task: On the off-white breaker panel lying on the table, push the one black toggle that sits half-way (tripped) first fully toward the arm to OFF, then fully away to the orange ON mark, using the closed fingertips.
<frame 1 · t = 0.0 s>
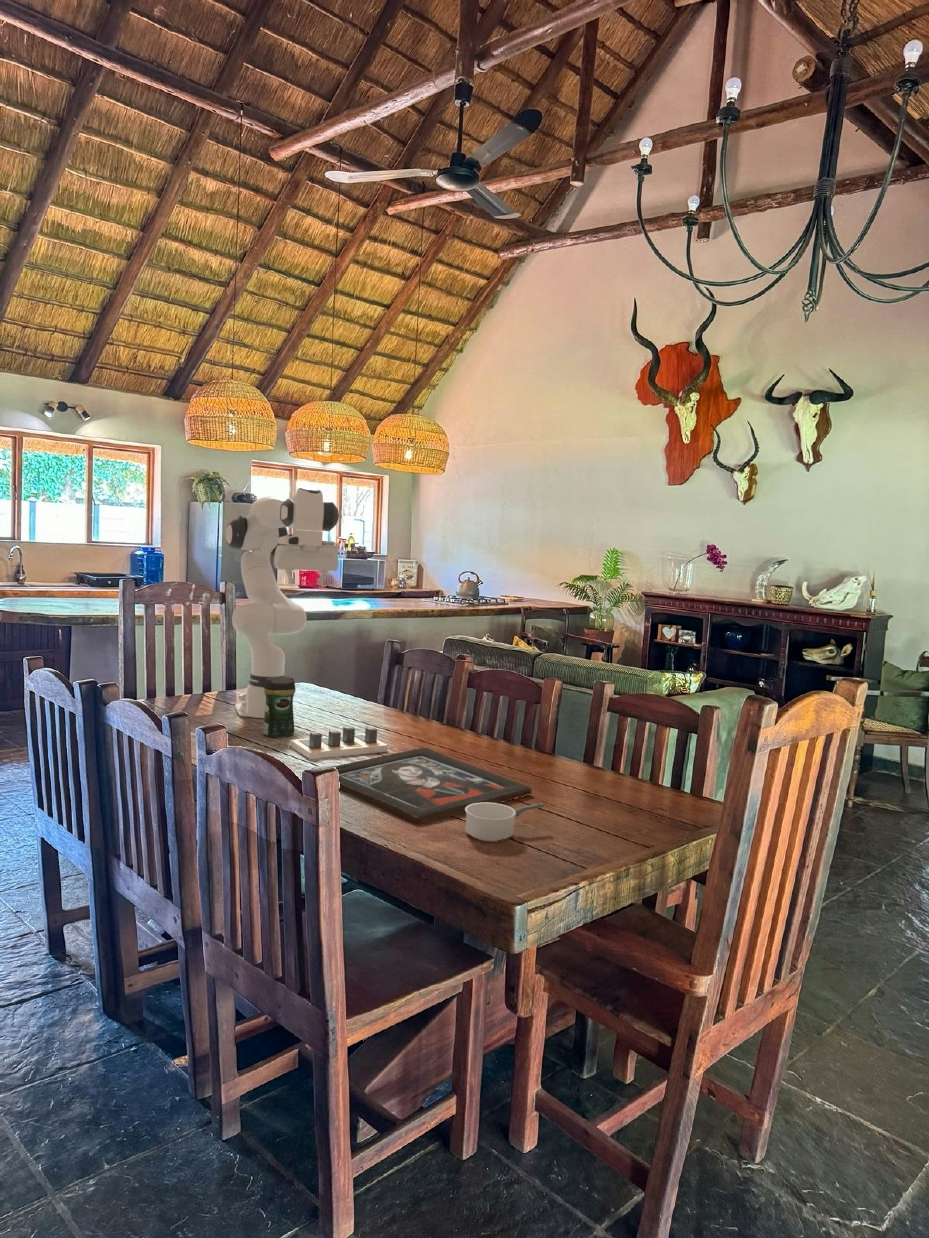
hand: (305, 584, 253), 48 cm above the table, fingers open, 8 cm apart
breaker 1: (315, 739, 236), point 4 cm above the table, slide at 3.0 cm
religious icon: (419, 788, 214), on the table
saucepan: (504, 833, 184), on the table
panel: (338, 748, 244), on the table
breaker 3: (348, 734, 245), point 4 cm above the table, slide at 0.0 cm
breaker 2: (334, 738, 240), point 4 cm above the table, slide at 3.0 cm
breaker 4: (371, 734, 246), point 4 cm above the table, slide at 3.0 cm
coffee jar: (277, 735, 256), on the table
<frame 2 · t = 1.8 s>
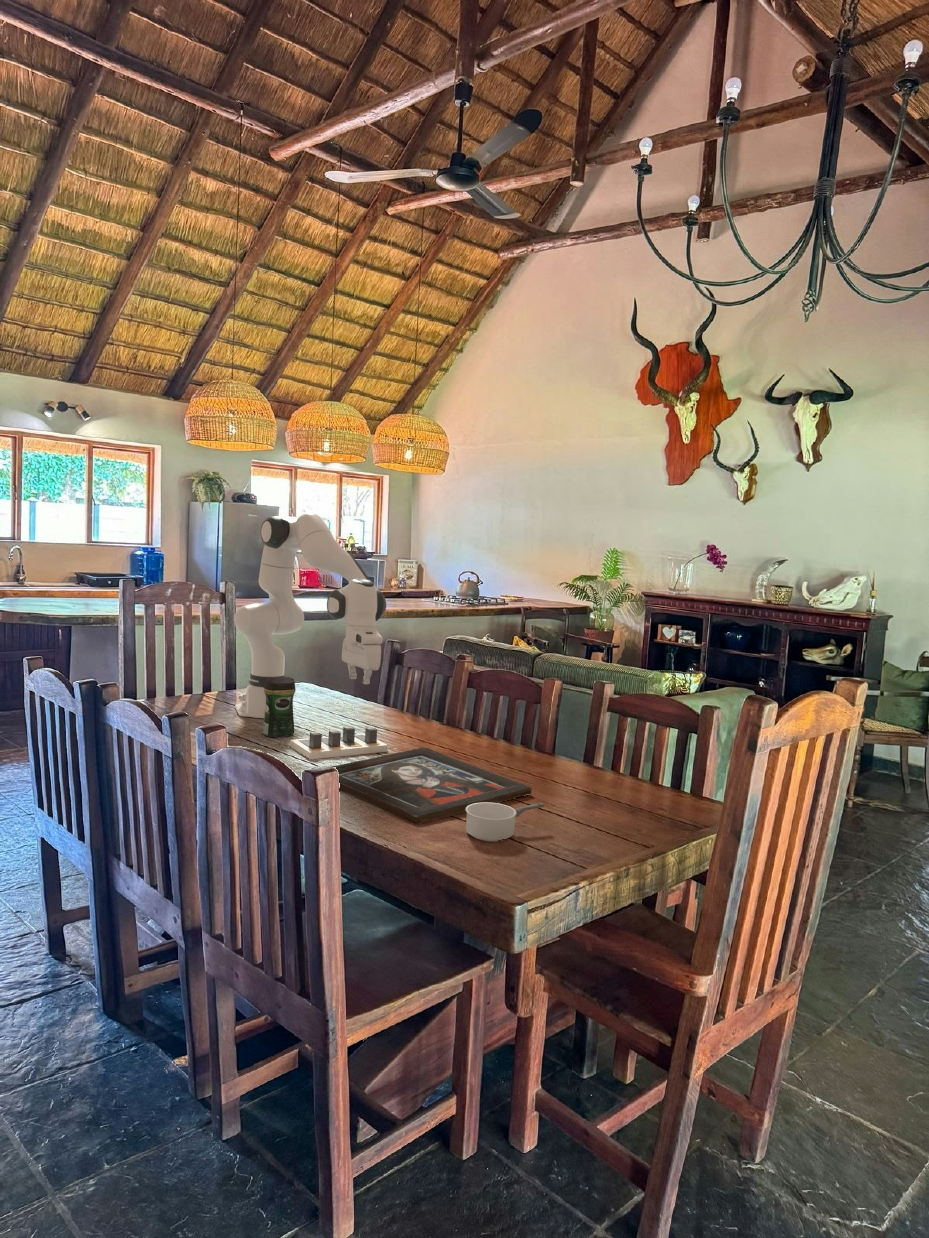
hand: (359, 681, 239), 22 cm above the table, fingers open, 8 cm apart
nothing on the table moved.
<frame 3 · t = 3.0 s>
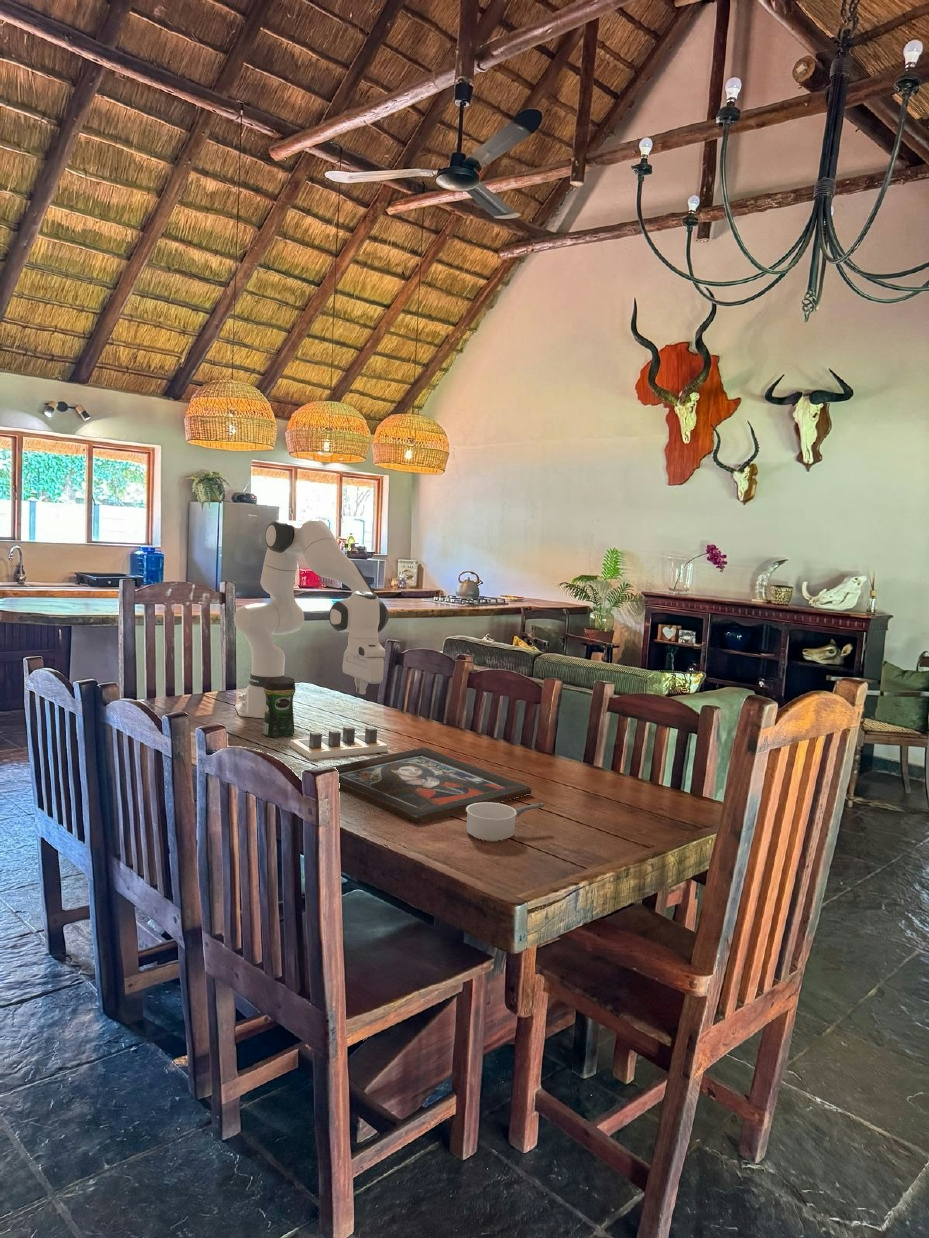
hand: (360, 693, 239), 18 cm above the table, fingers closed
nothing on the table moved.
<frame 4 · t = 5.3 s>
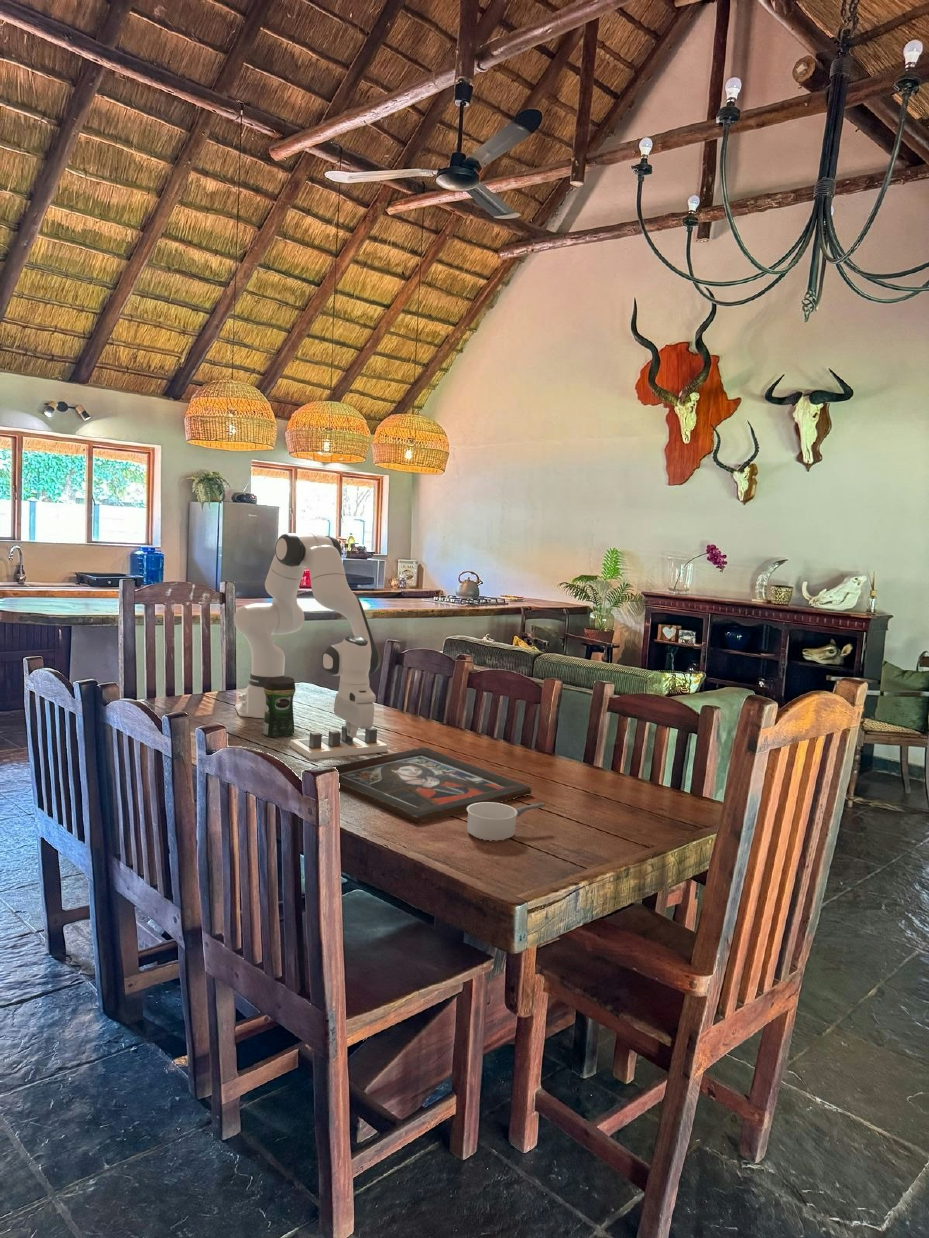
hand: (351, 736, 244), 4 cm above the table, fingers closed
breaker 3: (347, 733, 246), point 4 cm above the table, slide at -1.0 cm, touching gripper
everything else where it was.
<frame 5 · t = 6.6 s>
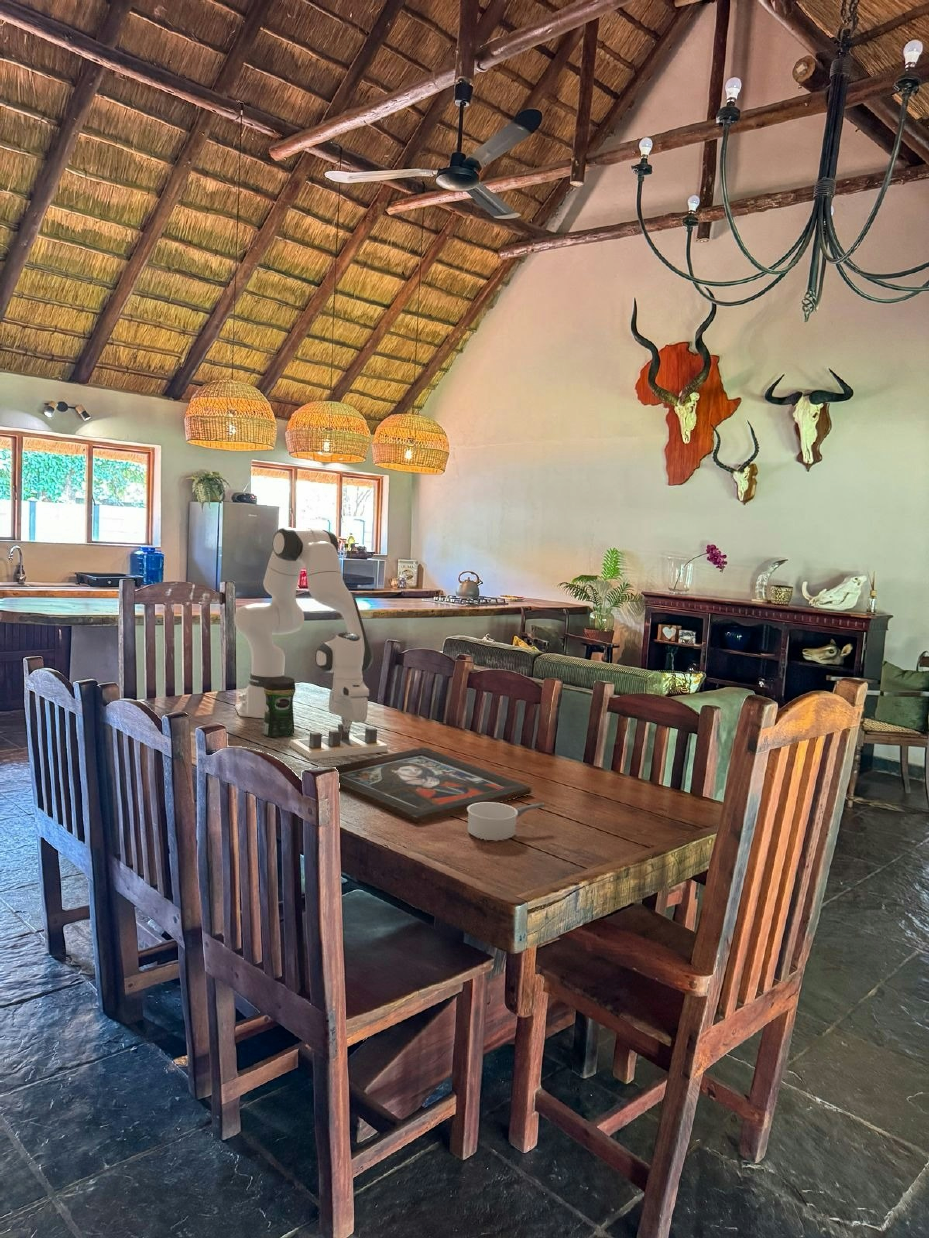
hand: (346, 731, 247), 5 cm above the table, fingers closed, pressing on breaker 3
breaker 3: (343, 731, 248), point 4 cm above the table, slide at -3.7 cm, touching gripper
everything else where it was.
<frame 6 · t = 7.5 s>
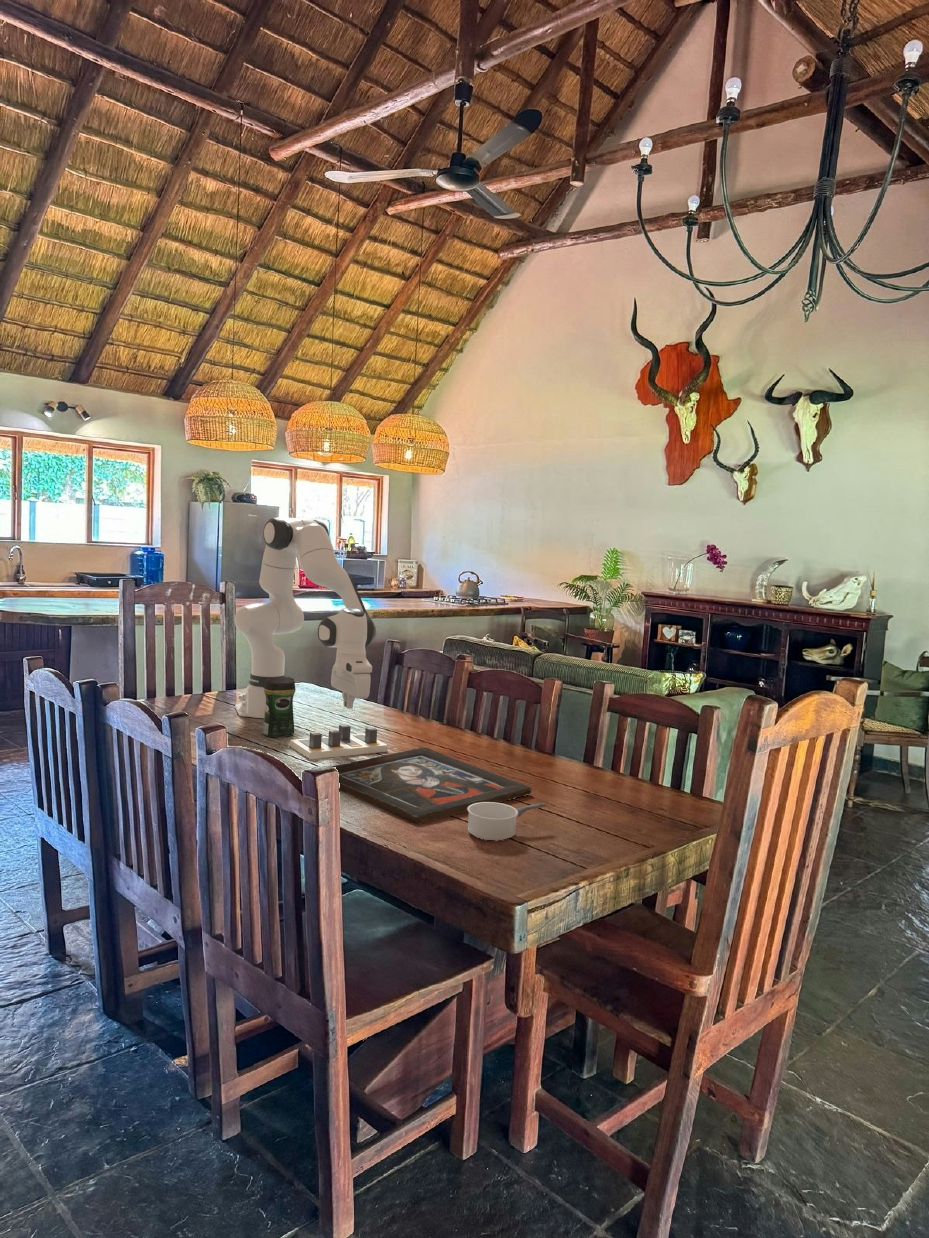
hand: (348, 707, 246), 12 cm above the table, fingers closed
breaker 3: (344, 731, 248), point 4 cm above the table, slide at -3.0 cm
everything else where it was.
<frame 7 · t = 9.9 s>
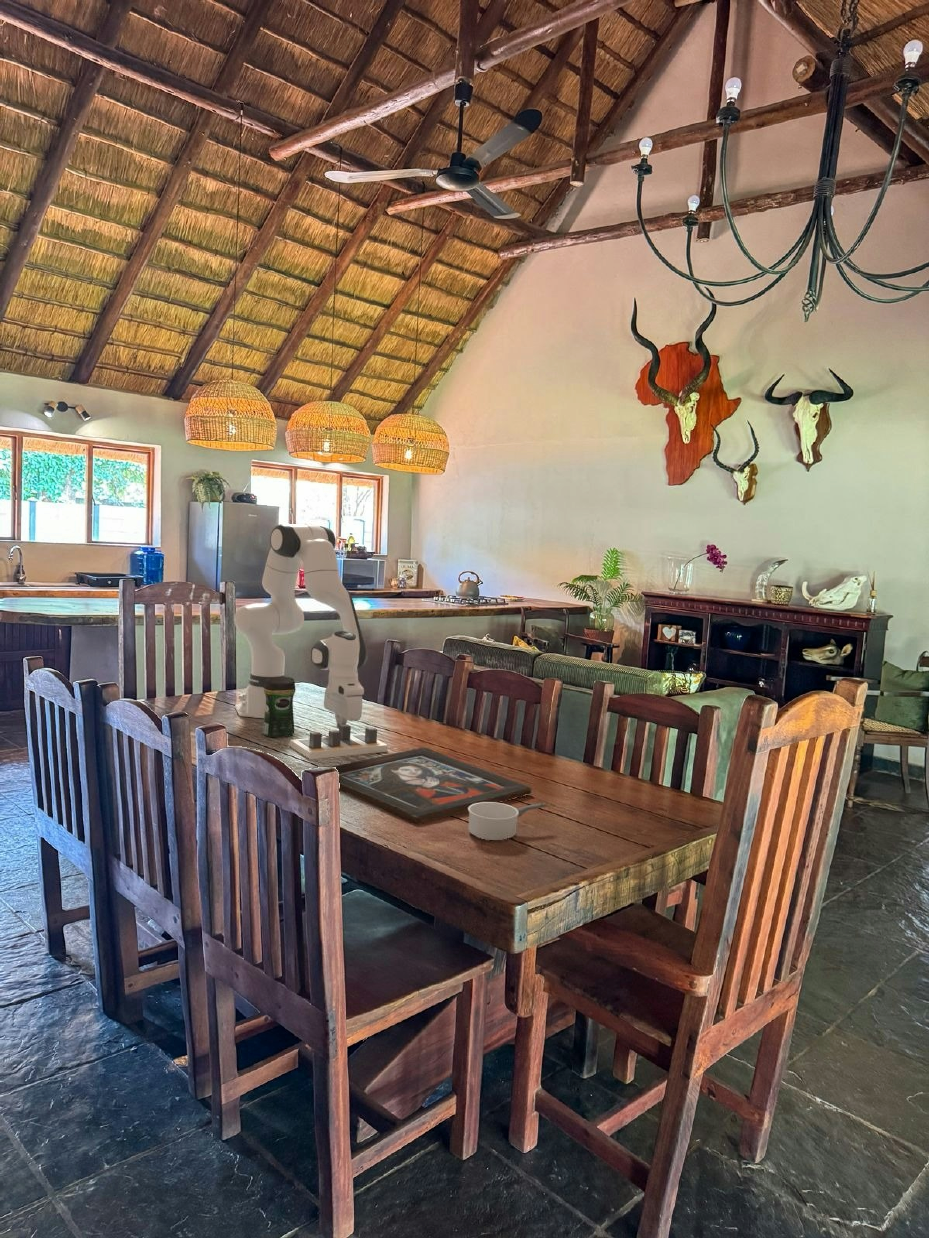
hand: (340, 729, 250), 5 cm above the table, fingers closed
breaker 3: (344, 731, 248), point 4 cm above the table, slide at -2.9 cm, touching gripper
everything else where it was.
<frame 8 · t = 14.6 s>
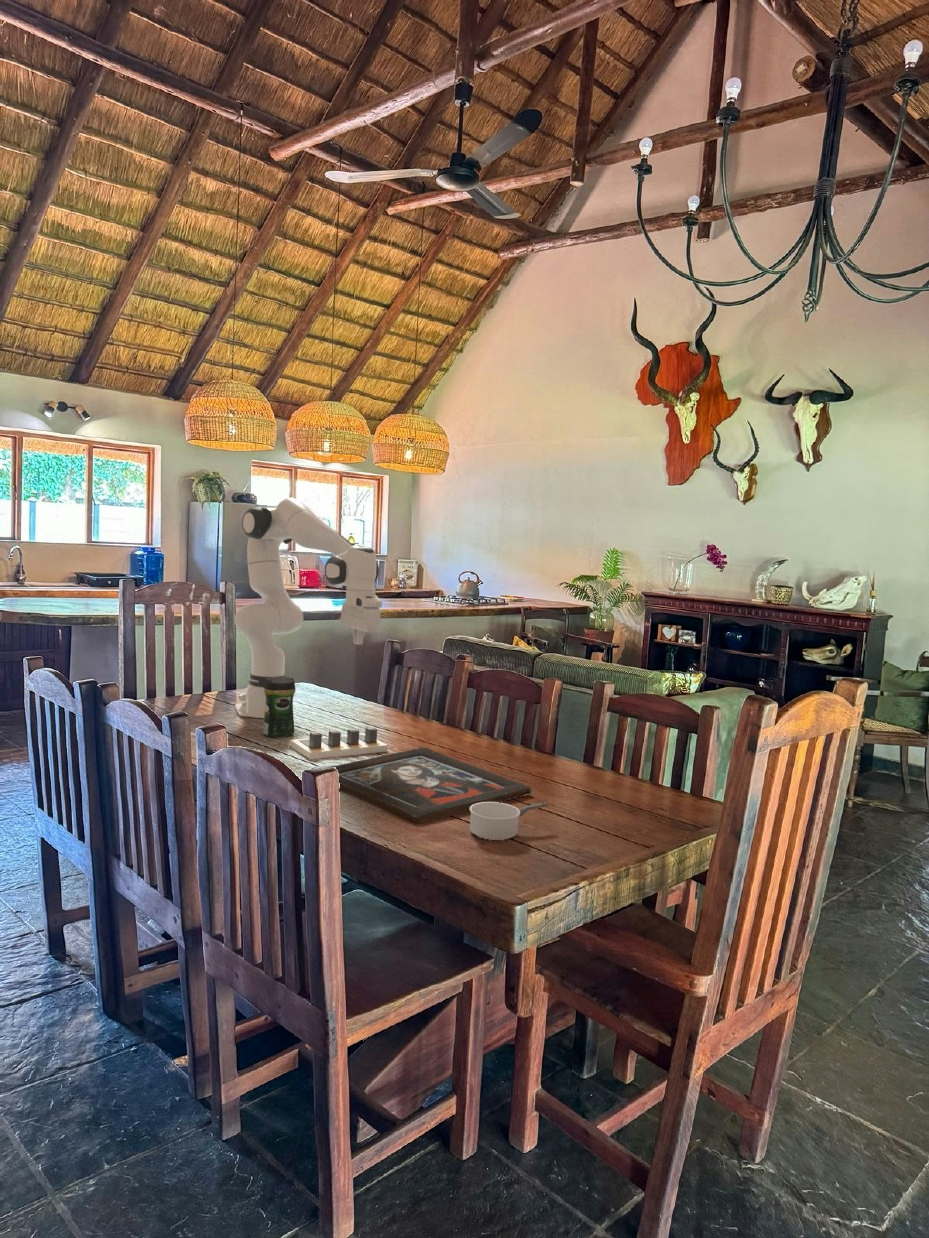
hand: (358, 643, 249), 31 cm above the table, fingers closed
breaker 3: (353, 736, 243), point 4 cm above the table, slide at 3.0 cm
at the end: breaker 3 slide at 3.0 cm; breaker 2 slide at 3.0 cm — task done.
